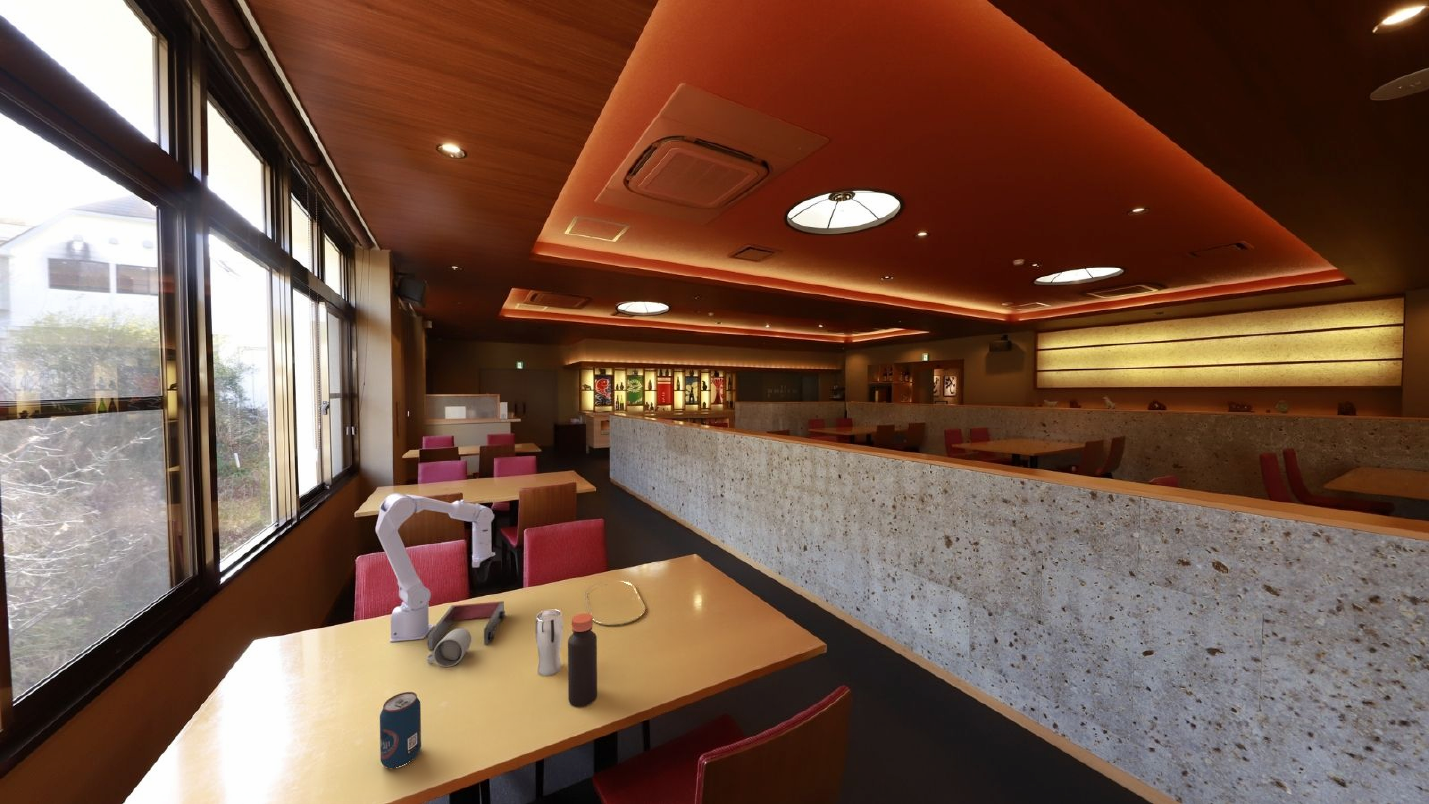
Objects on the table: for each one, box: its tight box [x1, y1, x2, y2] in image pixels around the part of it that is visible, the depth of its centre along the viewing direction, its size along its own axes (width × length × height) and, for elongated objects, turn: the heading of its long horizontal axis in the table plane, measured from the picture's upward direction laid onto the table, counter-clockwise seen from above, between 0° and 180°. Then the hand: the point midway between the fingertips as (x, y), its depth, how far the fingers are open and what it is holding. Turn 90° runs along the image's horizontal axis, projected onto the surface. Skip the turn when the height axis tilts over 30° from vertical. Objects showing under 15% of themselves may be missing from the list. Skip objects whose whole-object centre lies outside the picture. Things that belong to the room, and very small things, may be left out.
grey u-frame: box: [426, 600, 506, 651], centre depth 145 cm, size 18×18×4 cm
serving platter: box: [583, 579, 646, 627], centre depth 164 cm, size 19×35×2 cm, turn 21°
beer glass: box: [534, 608, 564, 677], centre depth 125 cm, size 7×7×15 cm
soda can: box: [379, 691, 422, 769], centre depth 95 cm, size 7×7×12 cm
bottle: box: [567, 612, 598, 708], centre depth 113 cm, size 7×7×20 cm
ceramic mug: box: [426, 627, 472, 668], centre depth 130 cm, size 11×8×8 cm
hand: (482, 580), depth 158 cm, fingers closed
